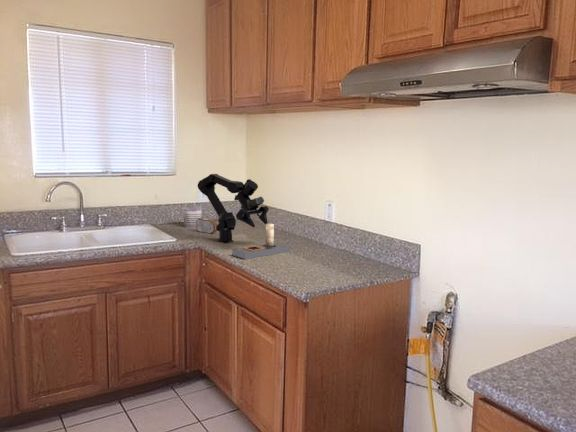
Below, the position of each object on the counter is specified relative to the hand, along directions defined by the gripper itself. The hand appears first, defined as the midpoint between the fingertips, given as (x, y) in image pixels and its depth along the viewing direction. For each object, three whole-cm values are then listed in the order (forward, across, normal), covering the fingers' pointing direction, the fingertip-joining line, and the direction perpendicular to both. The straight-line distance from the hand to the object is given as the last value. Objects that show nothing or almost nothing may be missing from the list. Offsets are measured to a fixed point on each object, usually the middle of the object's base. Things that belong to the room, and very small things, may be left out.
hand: (260, 225), depth 244 cm
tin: (-29, +8, +46) cm, 55 cm away
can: (-44, +14, +62) cm, 77 cm away
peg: (+13, 0, +4) cm, 14 cm away
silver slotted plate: (+13, -5, +5) cm, 15 cm away
